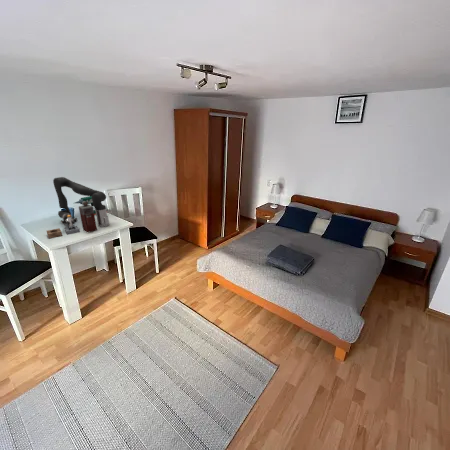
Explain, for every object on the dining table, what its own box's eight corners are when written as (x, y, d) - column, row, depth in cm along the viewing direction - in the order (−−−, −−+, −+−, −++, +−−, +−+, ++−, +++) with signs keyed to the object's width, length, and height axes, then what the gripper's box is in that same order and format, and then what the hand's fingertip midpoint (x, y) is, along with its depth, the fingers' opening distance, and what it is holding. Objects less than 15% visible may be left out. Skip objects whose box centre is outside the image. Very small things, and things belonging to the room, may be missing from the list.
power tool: (77, 219, 254) (73, 201, 247) (74, 217, 258) (70, 199, 250) (107, 212, 278) (104, 195, 270) (103, 210, 282) (101, 194, 274)
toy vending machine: (88, 233, 221) (82, 203, 211) (83, 230, 228) (77, 201, 218) (98, 230, 228) (92, 201, 217) (93, 227, 234) (87, 199, 224)
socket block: (77, 228, 231) (76, 225, 230) (79, 231, 224) (79, 228, 223) (65, 231, 225) (64, 228, 224) (67, 234, 218) (66, 231, 217)
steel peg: (75, 230, 226) (71, 214, 220) (73, 232, 223) (69, 215, 217) (72, 230, 226) (68, 214, 220) (69, 232, 223) (65, 215, 217)
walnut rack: (60, 232, 222) (59, 228, 221) (62, 235, 215) (61, 231, 214) (47, 234, 216) (46, 230, 215) (48, 238, 209) (47, 234, 208)
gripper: (58, 215, 225) (61, 221, 213) (75, 213, 234) (79, 217, 222) (59, 223, 228) (63, 228, 216) (76, 220, 237) (80, 225, 224)
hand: (71, 223), depth 219 cm, fingers closed on steel peg, 3 cm apart
